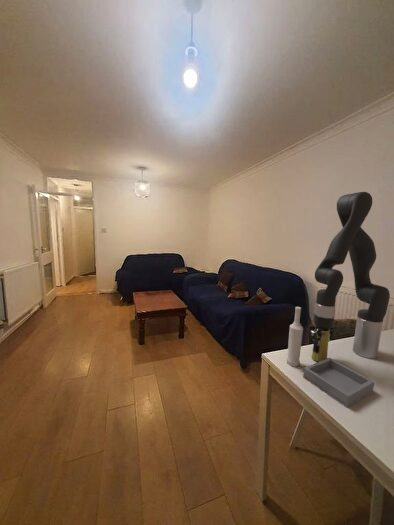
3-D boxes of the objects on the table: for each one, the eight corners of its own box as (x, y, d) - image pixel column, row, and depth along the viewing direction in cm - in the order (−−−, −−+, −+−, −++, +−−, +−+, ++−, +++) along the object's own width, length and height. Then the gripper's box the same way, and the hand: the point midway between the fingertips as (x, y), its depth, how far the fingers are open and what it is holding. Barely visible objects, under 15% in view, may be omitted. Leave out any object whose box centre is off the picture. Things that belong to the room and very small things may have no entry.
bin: (328, 366, 91) (329, 357, 91) (372, 391, 77) (374, 381, 77) (303, 377, 84) (304, 367, 83) (346, 407, 70) (348, 396, 69)
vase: (329, 363, 93) (333, 332, 90) (313, 361, 94) (317, 330, 92) (324, 355, 98) (327, 326, 96) (309, 354, 100) (312, 324, 98)
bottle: (293, 368, 90) (298, 310, 86) (283, 361, 94) (288, 306, 90) (302, 365, 92) (308, 309, 88) (292, 358, 96) (297, 304, 93)
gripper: (326, 308, 100) (322, 342, 102) (305, 313, 93) (301, 350, 96) (343, 314, 93) (338, 350, 95) (322, 320, 86) (317, 359, 89)
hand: (320, 350), depth 95 cm, fingers closed on vase, 5 cm apart
